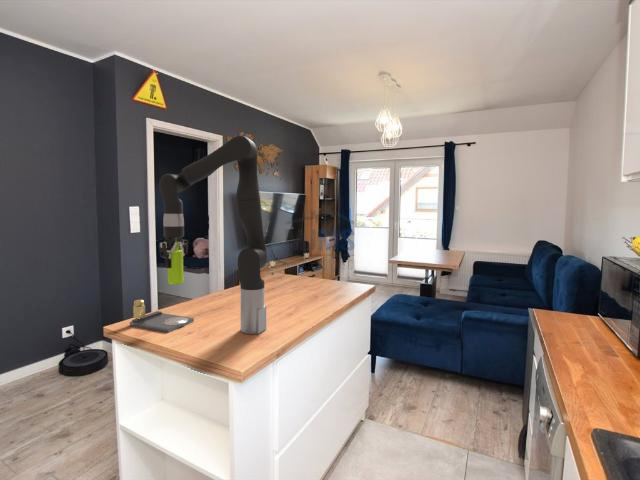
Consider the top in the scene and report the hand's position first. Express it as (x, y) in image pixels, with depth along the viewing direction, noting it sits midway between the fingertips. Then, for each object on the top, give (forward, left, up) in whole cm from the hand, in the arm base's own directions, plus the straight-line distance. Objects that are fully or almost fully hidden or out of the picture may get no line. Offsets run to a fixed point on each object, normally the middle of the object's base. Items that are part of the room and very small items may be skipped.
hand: (174, 266), depth 139 cm
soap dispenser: (0, 0, -7) cm, 7 cm away
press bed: (+6, +1, -24) cm, 25 cm away
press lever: (+14, +5, -21) cm, 26 cm away
